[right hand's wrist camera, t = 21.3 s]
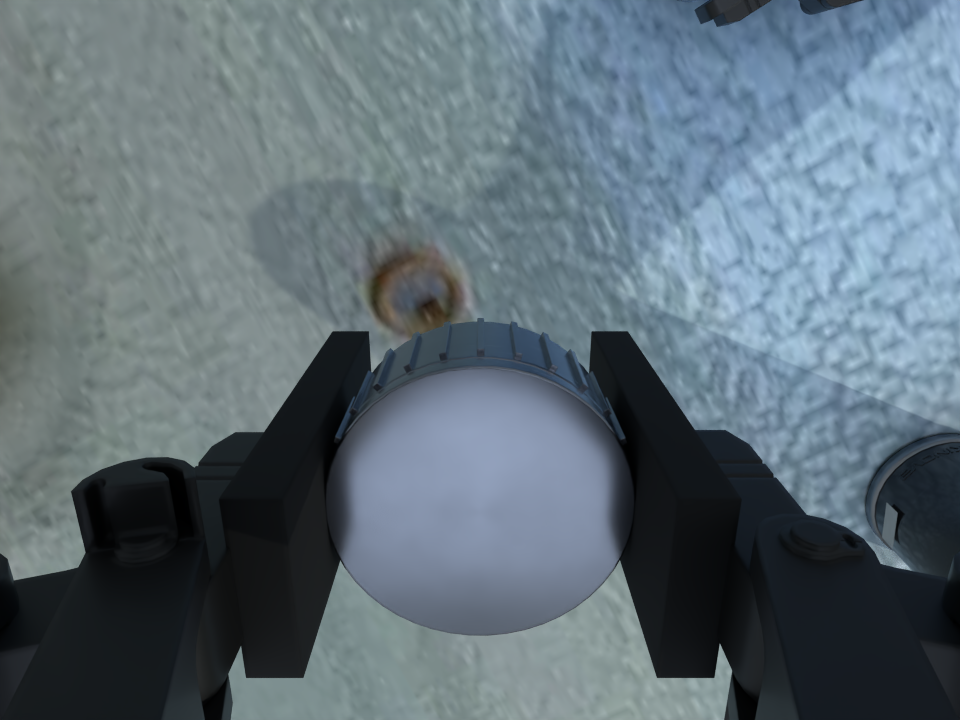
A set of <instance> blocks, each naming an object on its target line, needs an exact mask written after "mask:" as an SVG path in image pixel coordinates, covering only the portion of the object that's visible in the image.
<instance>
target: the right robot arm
mask: <svg viewBox="0 0 960 720" xmlns="http://www.w3.org/2000/svg"><path fill="white" fill-rule="evenodd" d="M368 371H370V372H371V361H370V344H369V331H333V332H332V333H331V335H330V336H329V338H328V339H327V341H326V342H325V344H324V345H323V347H322V348H321V349H320V351H319V352H318V354H317V355H316V357H315V358H314V360H313V361H312V363H311V364H310V366H309V367H308V369H307V370H306V371H305V373H304V374H303V376H302V377H301V379H300V380H299V382H298V383H297V385H296V386H295V388H294V389H293V391H292V392H291V394H290V395H289V396H288V398H287V399H286V401H285V402H284V404H283V405H282V407H281V408H280V410H279V411H278V413H277V414H276V416H275V417H274V418H273V420H272V421H271V423H270V424H269V426H268V427H267V429H266V430H265V432H235V433H233V434H232V435H230V436H228V437H227V438H225V439H223V440H222V441H220V442H218V443H217V444H215V445H213V446H212V447H211V448H210V449H209V451H208V452H207V453H206V454H205V456H204V457H203V458H202V459H201V460H200V462H199V465H198V466H196V467H195V468H194V467H192V466H191V465H190V464H188V463H187V462H186V461H183V460H179V459H174V458H169V457H157V458H142V459H137V460H132V461H126V462H122V463H119V464H116V465H113V466H110V467H107V468H105V469H102V470H100V471H98V472H96V473H94V474H92V475H91V476H89V477H87V478H85V479H83V480H82V481H81V482H80V483H79V484H78V485H77V486H76V487H75V488H74V489H73V490H72V491H71V493H72V497H73V501H74V506H75V510H76V514H77V518H78V522H79V526H80V531H81V535H82V539H83V543H84V547H85V552H86V553H85V555H84V557H83V559H82V561H81V563H80V565H79V567H78V568H74V569H70V570H66V571H61V572H56V573H51V574H46V575H41V576H35V577H30V578H25V579H20V580H15V581H14V580H13V576H12V573H11V569H10V566H9V563H8V559H7V558H5V557H4V556H3V555H2V554H0V720H231V712H232V704H233V702H232V695H231V688H230V682H229V676H228V673H229V671H230V669H231V666H232V664H233V662H234V660H235V658H236V655H237V653H238V651H239V649H240V646H241V648H242V654H243V661H244V667H245V674H246V678H303V677H304V674H305V671H306V668H307V664H308V661H309V658H310V655H311V652H312V649H313V645H314V642H315V639H316V636H317V633H318V629H319V626H320V623H321V620H322V617H323V614H324V610H325V607H326V604H327V601H328V598H329V594H330V591H331V588H332V585H333V582H334V578H335V575H336V572H337V569H338V566H339V563H340V558H339V557H338V555H337V553H336V551H335V548H334V546H333V543H332V541H331V538H330V536H329V532H328V527H327V518H326V507H325V481H326V477H327V472H328V468H329V464H330V461H331V459H332V456H333V454H334V451H335V449H336V446H337V443H334V442H333V440H334V437H335V435H336V433H337V431H338V429H339V426H340V424H341V422H342V420H343V417H344V415H345V413H346V411H347V409H348V406H349V404H350V402H351V400H352V398H353V396H354V397H356V394H357V392H358V390H359V388H360V385H361V383H362V381H363V379H364V376H365V374H366V373H367V372H368ZM590 372H593V373H594V374H595V376H596V378H597V380H598V382H599V385H600V387H601V389H602V391H603V394H604V396H605V398H606V397H608V399H609V402H610V404H611V406H612V408H613V410H614V413H615V415H616V417H617V419H618V422H619V424H620V426H621V428H622V430H623V433H624V435H625V437H626V440H627V442H628V443H626V444H624V445H623V446H624V448H625V450H626V453H627V456H628V459H629V461H630V464H631V467H632V471H633V476H634V481H635V488H636V500H635V512H634V522H633V528H632V532H631V536H630V539H629V541H628V544H627V546H626V548H625V551H624V553H623V555H622V557H621V559H620V561H621V564H622V568H623V571H624V574H625V577H626V580H627V584H628V587H629V590H630V593H631V596H632V599H633V603H634V606H635V609H636V612H637V615H638V619H639V622H640V625H641V628H642V631H643V634H644V638H645V641H646V644H647V647H648V650H649V654H650V657H651V660H652V663H653V666H654V670H655V673H656V676H657V678H714V677H715V670H716V664H717V657H718V651H719V644H721V647H722V649H723V651H724V653H725V655H726V658H727V660H728V662H729V664H730V666H731V669H732V676H731V682H730V688H729V694H728V700H727V706H726V712H725V718H724V720H960V552H958V553H957V554H956V555H954V558H953V561H952V564H951V568H950V571H949V575H948V578H946V577H941V576H936V575H931V574H925V573H920V572H915V571H910V570H904V569H899V568H894V567H890V566H886V565H882V564H880V562H879V560H878V558H877V556H876V554H875V552H874V551H873V550H872V548H871V547H870V546H869V545H868V544H867V543H866V541H865V540H864V539H863V538H861V537H860V536H858V535H857V534H855V533H854V532H852V531H851V530H849V529H848V528H846V527H844V526H841V525H839V524H836V523H834V522H831V521H829V520H826V519H823V518H818V517H814V516H809V515H806V513H805V512H804V511H803V510H802V509H801V507H800V506H799V505H798V504H797V502H796V501H795V500H794V499H793V498H792V496H791V495H790V494H789V493H788V491H787V490H786V489H785V488H784V486H783V485H782V484H781V483H780V482H779V480H778V479H777V478H774V477H773V473H772V472H771V471H770V469H769V468H768V467H767V466H766V464H762V460H761V458H760V457H759V456H758V455H757V453H756V452H755V451H754V450H753V449H752V447H751V446H750V445H749V444H748V443H746V442H744V441H743V440H741V439H739V438H738V437H736V436H734V435H733V434H731V433H729V432H728V431H726V430H694V428H693V427H692V425H691V424H690V422H689V421H688V419H687V418H686V416H685V415H684V413H683V412H682V410H681V409H680V408H679V406H678V405H677V403H676V402H675V400H674V399H673V397H672V396H671V394H670V393H669V391H668V390H667V388H666V387H665V386H664V384H663V383H662V381H661V380H660V378H659V377H658V375H657V374H656V372H655V371H654V369H653V368H652V366H651V365H650V363H649V362H648V361H647V359H646V358H645V356H644V355H643V353H642V352H641V350H640V349H639V347H638V346H637V344H636V343H635V341H634V340H633V339H632V337H631V336H630V334H629V333H628V331H592V334H591V351H590V368H589V373H590Z"/></svg>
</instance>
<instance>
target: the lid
mask: <svg viewBox="0 0 960 720" xmlns="http://www.w3.org/2000/svg"><path fill="white" fill-rule="evenodd" d="M333 442H334V443H337V446H336V449H335V451H334V454H333V456H332V459H331V461H330V464H329V468H328V472H327V477H326V481H325V507H326V518H327V527H328V532H329V536H330V538H331V541H332V543H333V546H334V548H335V551H336V553H337V555H338V557H339V558H340V560H341V562H342V564H343V565H344V567H345V569H346V570H347V571H348V573H349V574H350V575H351V577H352V578H353V579H354V581H355V582H356V583H357V584H358V585H359V586H360V587H361V588H362V589H363V590H364V591H365V592H366V593H367V594H368V595H369V596H371V597H372V598H373V599H374V600H376V601H377V602H378V603H379V604H381V605H382V606H383V607H385V608H387V609H388V610H390V611H392V612H393V613H395V614H396V615H398V616H400V617H402V618H405V619H407V620H409V621H411V622H413V623H416V624H419V625H422V626H424V627H427V628H430V629H434V630H438V631H443V632H447V633H453V634H462V635H498V634H507V633H512V632H517V631H522V630H526V629H529V628H533V627H536V626H539V625H542V624H544V623H547V622H549V621H551V620H553V619H556V618H558V617H560V616H562V615H563V614H565V613H567V612H569V611H570V610H572V609H574V608H575V607H577V606H578V605H579V604H581V603H582V602H583V601H585V600H586V599H587V598H589V597H590V596H591V595H592V594H593V593H594V592H595V591H596V590H597V589H598V588H599V587H600V586H601V585H602V584H603V583H604V582H605V581H606V579H607V578H608V577H609V575H610V574H611V573H612V572H613V570H614V569H615V567H616V566H617V564H618V562H619V560H620V559H621V557H622V555H623V553H624V551H625V548H626V546H627V544H628V541H629V539H630V536H631V532H632V528H633V522H634V512H635V500H636V488H635V481H634V476H633V471H632V467H631V464H630V461H629V459H628V456H627V453H626V450H625V448H624V446H623V445H624V444H626V443H628V442H627V440H626V437H625V435H624V433H623V430H622V428H621V426H620V424H619V422H618V419H617V417H616V415H615V413H614V410H613V408H612V406H611V404H610V402H609V399H608V397H606V398H605V396H604V394H603V391H602V389H601V387H600V385H599V382H598V380H597V378H596V376H595V374H594V373H593V372H590V373H589V374H588V372H587V371H586V370H585V368H584V367H583V366H582V365H581V364H580V363H579V362H578V360H577V357H576V355H575V352H574V351H572V350H571V349H570V350H569V351H568V352H567V351H566V350H564V349H563V348H562V347H560V346H559V345H558V344H556V343H554V342H553V341H551V340H550V339H549V336H548V334H546V333H544V332H542V334H541V335H539V334H537V333H535V332H532V331H530V330H527V329H524V328H520V327H518V325H517V323H516V322H511V324H510V325H509V324H502V323H495V322H484V318H478V319H477V322H466V323H457V324H452V325H451V322H450V321H449V322H445V323H444V327H439V328H436V329H433V330H431V331H428V332H426V333H423V334H420V333H419V332H416V333H414V334H413V336H412V339H411V340H409V341H407V342H406V343H404V344H403V345H401V346H400V347H398V348H397V349H396V350H394V351H393V350H392V349H391V348H390V349H389V350H388V351H387V352H386V354H385V356H384V359H383V361H382V362H381V363H380V364H379V365H378V366H377V367H376V369H375V370H374V371H373V373H372V372H370V371H368V372H367V373H366V374H365V376H364V379H363V381H362V383H361V385H360V388H359V390H358V392H357V394H356V397H354V396H353V398H352V400H351V402H350V404H349V406H348V409H347V411H346V413H345V415H344V417H343V420H342V422H341V424H340V426H339V429H338V431H337V433H336V435H335V437H334V440H333Z"/></svg>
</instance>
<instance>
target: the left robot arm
mask: <svg viewBox="0 0 960 720" xmlns="http://www.w3.org/2000/svg"><path fill="white" fill-rule="evenodd" d="M770 1H771V0H709V1H707V2H706V3H704V4H703V5H701V6H700V7H698V8H697V9H695V12H696V15H697V17H698V19H699V21H700V23H701V24H703V23H705V22H708V21H710V20H712V19H714V21H715V23H716V26H717V27H719V26H724V25H729V24H732V23H734V22H737V21H740V20H741V19H743V18H745V17H746V16H748V15H749V14H751V13H752V12H754V11H755V10H757V9H759V8H760V7H762V6H763V5H765V4H766V3H768V2H770ZM799 1H800V7H801V9H802V11H803V12H804V13H806V14H809V15H812V14H816V13H820V12H823V11H827V10H830V9H834V8H837V7H841V6H844V5H848V4H852V3H855V2H859V1H862V0H799ZM866 514H867V518H868V522H869V524H870V526H871V528H872V530H873V531H874V533H875V534H876V535H877V536H878V537H879V538H880V539H881V540H882V541H883V543H884V544H885V545H886V546H888V547H889V548H890V549H891V550H893V551H894V552H895V553H896V554H897V555H898V556H899V557H900V558H901V559H902V560H903V561H904V562H905V564H906V565H907V566H908V567H909V568H910V569H911V570H912V571H915V572H920V573H925V574H931V575H936V576H941V577H946V578H948V575H949V571H950V568H951V564H952V561H953V558H954V555H956V554H957V553H958V552H960V434H944V435H936V436H932V437H928V438H925V439H922V440H919V441H917V442H914V443H912V444H910V445H908V446H907V447H905V448H903V449H902V450H900V451H899V452H897V453H896V454H895V455H893V456H892V457H891V458H890V459H889V460H888V461H887V462H886V463H885V464H884V465H883V466H882V467H881V469H880V470H879V471H878V473H877V474H876V476H875V477H874V479H873V481H872V483H871V485H870V488H869V491H868V494H867V499H866Z"/></svg>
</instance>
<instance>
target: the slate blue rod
mask: <svg viewBox="0 0 960 720" xmlns="http://www.w3.org/2000/svg"><path fill="white" fill-rule="evenodd" d="M678 1H682V2H694V1H698V0H678Z"/></svg>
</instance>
